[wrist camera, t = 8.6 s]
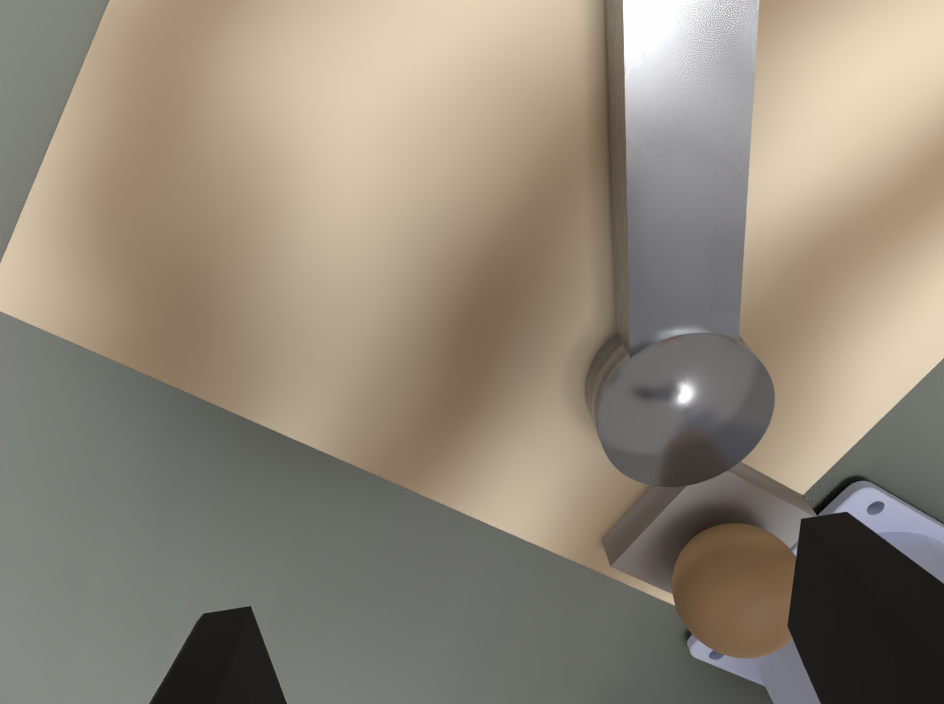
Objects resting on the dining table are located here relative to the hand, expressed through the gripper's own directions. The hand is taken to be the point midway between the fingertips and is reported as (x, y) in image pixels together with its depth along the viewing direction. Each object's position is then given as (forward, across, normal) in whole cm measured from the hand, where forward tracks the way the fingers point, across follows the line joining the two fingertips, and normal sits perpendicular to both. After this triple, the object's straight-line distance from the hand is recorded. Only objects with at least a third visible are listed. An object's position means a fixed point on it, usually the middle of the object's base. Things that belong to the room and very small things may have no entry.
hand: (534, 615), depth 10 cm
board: (+10, -5, -4) cm, 12 cm away
